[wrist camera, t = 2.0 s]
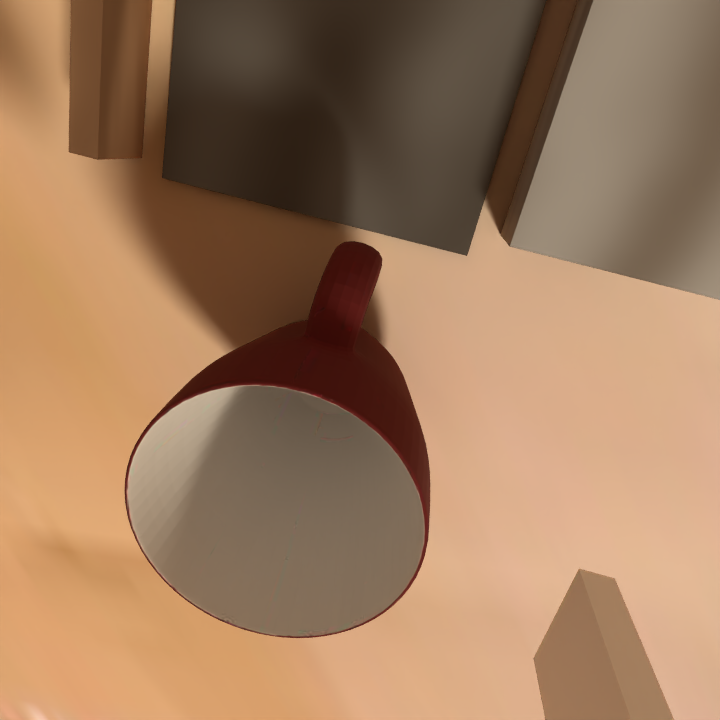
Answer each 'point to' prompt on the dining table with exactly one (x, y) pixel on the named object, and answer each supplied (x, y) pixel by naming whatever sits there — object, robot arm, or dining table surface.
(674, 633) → the dining table surface
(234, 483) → the mug
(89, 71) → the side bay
